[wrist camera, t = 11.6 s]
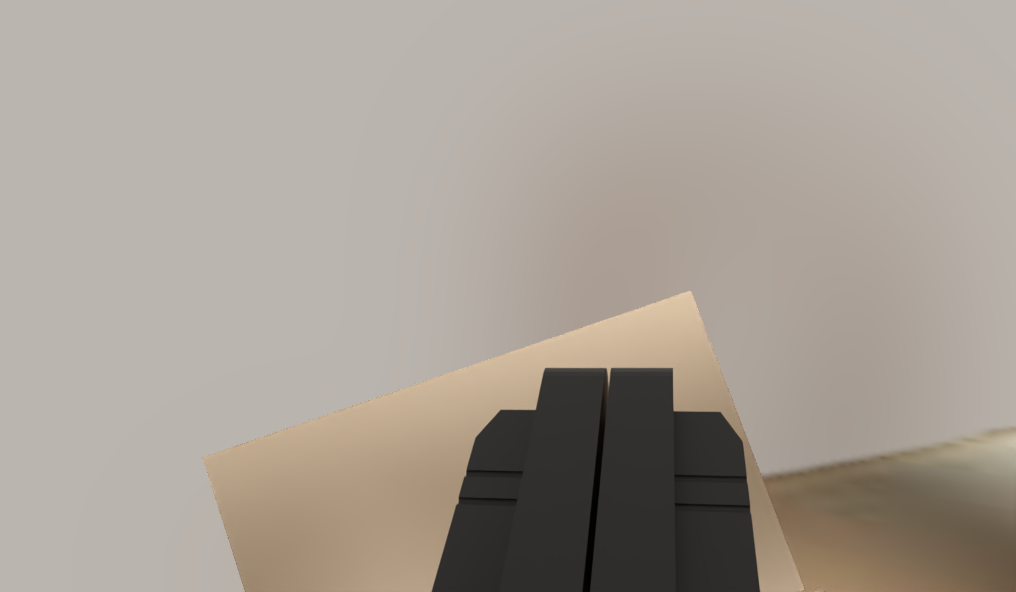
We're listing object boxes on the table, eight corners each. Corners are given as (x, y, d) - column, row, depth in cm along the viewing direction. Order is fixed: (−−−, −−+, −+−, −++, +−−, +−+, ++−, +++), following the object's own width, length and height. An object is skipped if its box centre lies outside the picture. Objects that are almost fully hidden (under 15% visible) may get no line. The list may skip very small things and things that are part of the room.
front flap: (804, 588, 26) (796, 587, 26) (691, 290, 27) (684, 293, 27) (322, 837, 21) (320, 830, 21) (202, 457, 22) (202, 458, 22)
